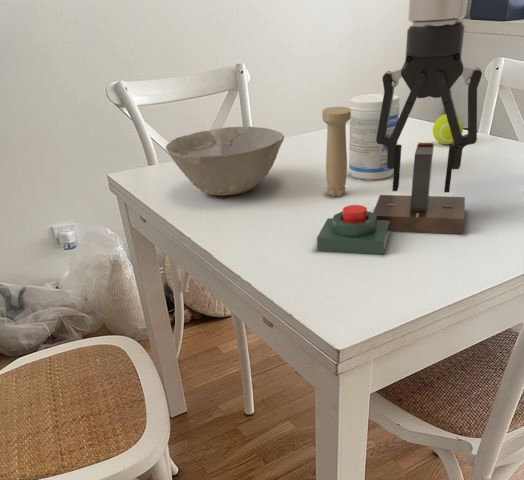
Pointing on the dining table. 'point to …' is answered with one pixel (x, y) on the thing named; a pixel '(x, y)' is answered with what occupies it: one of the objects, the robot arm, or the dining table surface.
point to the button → (354, 213)
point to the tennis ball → (444, 130)
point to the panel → (422, 214)
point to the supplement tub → (369, 137)
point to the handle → (336, 148)
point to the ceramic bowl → (226, 158)
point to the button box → (354, 235)
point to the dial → (421, 177)
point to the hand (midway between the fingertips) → (420, 188)
